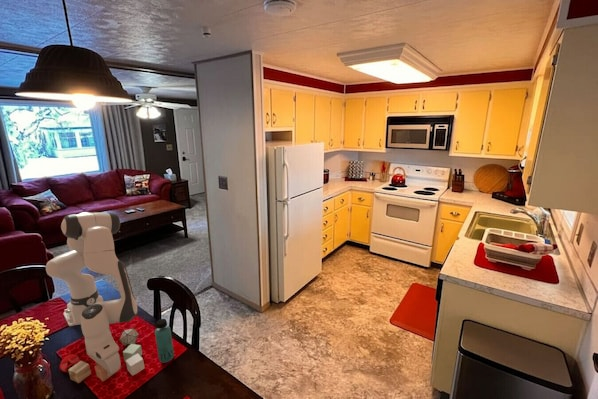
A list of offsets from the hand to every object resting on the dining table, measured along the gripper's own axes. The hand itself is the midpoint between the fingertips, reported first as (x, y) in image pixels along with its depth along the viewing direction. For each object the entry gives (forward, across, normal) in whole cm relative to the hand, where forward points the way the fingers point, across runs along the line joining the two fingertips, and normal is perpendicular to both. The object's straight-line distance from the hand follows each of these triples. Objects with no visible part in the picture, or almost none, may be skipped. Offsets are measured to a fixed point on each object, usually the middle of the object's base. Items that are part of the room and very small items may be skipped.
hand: (105, 371), depth 122 cm
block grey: (+2, +8, +8) cm, 11 cm away
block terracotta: (+2, 0, 0) cm, 2 cm away
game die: (+2, -8, +15) cm, 17 cm away
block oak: (+2, -8, -6) cm, 10 cm away
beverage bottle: (+2, +15, +18) cm, 23 cm away
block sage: (+2, +1, +11) cm, 11 cm away
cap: (+2, -17, -6) cm, 18 cm away
